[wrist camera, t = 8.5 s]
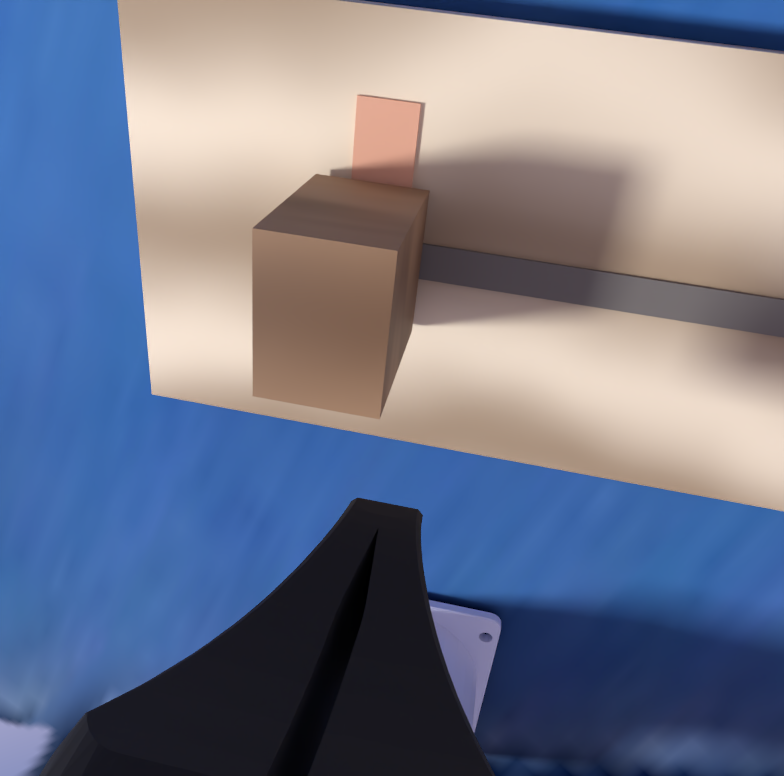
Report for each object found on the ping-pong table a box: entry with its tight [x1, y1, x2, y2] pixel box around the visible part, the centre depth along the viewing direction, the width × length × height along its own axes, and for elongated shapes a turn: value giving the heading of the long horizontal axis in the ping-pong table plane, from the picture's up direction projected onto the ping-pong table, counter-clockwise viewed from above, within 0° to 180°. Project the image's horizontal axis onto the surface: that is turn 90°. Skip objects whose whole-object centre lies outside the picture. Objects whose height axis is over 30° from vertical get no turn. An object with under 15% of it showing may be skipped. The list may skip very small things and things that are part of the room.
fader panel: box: [118, 0, 784, 511], centre depth 19 cm, size 12×28×2 cm, turn 84°
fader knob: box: [252, 174, 430, 419], centre depth 17 cm, size 4×3×5 cm
